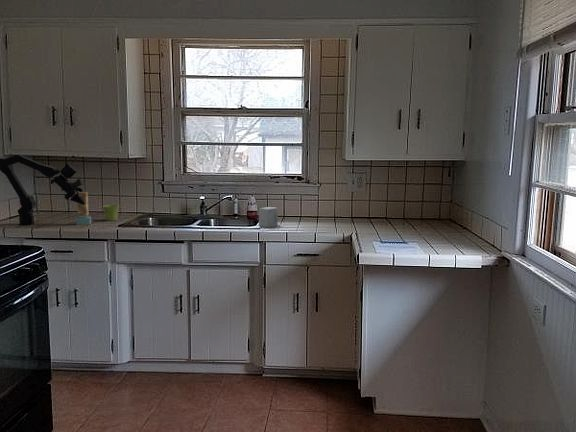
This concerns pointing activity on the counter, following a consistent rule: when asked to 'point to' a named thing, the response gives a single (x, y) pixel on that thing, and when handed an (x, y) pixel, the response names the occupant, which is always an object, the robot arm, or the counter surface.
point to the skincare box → (268, 216)
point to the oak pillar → (83, 208)
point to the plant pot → (111, 212)
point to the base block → (83, 220)
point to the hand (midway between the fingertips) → (85, 203)
